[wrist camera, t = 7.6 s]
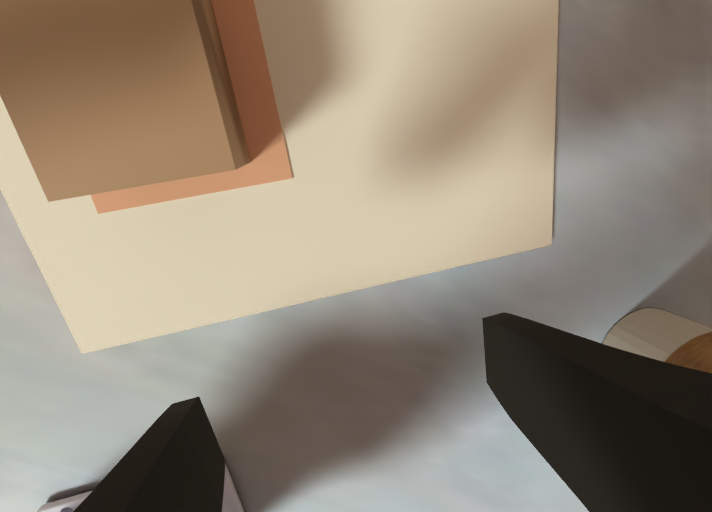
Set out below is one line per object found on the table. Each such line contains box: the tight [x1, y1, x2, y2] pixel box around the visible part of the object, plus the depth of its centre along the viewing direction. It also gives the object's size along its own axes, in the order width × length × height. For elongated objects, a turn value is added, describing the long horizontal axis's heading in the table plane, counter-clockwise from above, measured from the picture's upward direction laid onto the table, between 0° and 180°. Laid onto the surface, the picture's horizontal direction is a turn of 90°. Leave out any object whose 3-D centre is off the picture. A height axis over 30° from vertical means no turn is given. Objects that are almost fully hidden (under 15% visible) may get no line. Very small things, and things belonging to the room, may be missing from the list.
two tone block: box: [0, 0, 251, 202], centre depth 11 cm, size 9×5×5 cm, turn 9°
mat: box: [0, 0, 559, 354], centre depth 15 cm, size 24×16×1 cm, turn 99°
